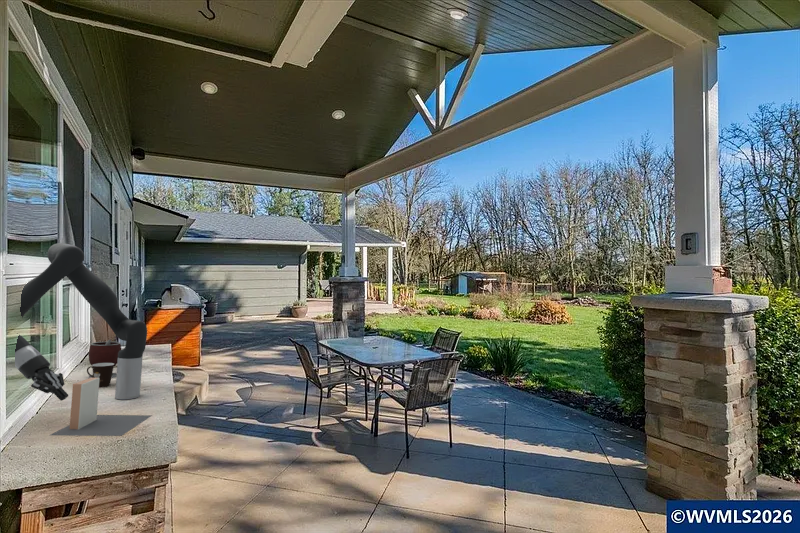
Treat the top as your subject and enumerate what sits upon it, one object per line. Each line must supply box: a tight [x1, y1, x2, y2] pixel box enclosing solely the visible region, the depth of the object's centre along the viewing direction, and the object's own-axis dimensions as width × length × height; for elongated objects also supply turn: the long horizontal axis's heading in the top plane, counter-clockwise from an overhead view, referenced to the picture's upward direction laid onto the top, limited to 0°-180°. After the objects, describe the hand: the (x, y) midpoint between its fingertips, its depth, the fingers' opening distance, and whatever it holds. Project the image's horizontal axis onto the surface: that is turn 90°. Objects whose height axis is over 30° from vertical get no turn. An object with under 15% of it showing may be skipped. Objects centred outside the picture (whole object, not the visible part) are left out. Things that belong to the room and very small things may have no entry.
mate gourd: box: [88, 339, 122, 379], centre depth 223 cm, size 16×14×20 cm
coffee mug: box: [86, 363, 115, 388], centre depth 206 cm, size 12×9×10 cm
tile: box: [69, 377, 100, 429], centre depth 151 cm, size 10×3×15 cm, turn 6°
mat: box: [49, 414, 153, 437], centre depth 152 cm, size 22×22×1 cm
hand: (65, 398), depth 151 cm, fingers closed
